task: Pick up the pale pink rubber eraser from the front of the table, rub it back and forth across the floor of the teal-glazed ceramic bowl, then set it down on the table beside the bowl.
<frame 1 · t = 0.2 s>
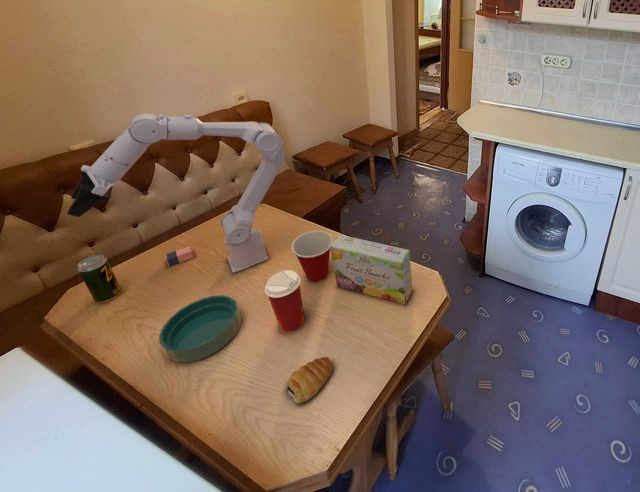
hand: (75, 206, 81), 31 cm above the table, tool tilted 45°, fingers open, 7 cm apart
pastry: (308, 383, 76), on the table
bowl: (205, 333, 86), on the table
beer can: (109, 296, 96), on the table
eraser: (180, 259, 109), on the table
snack box: (374, 290, 100), on the table
paper cup: (292, 322, 90), on the table
plastic cup: (318, 275, 105), on the table
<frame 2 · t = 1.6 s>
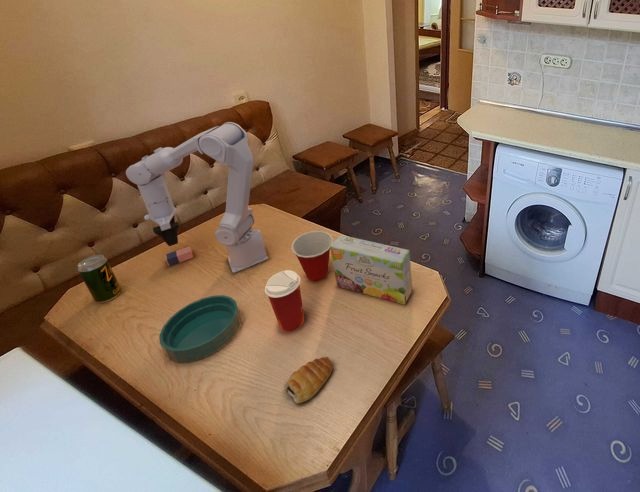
hand: (172, 237, 106), 8 cm above the table, tool pointing down, fingers open, 7 cm apart
nothing on the table moved.
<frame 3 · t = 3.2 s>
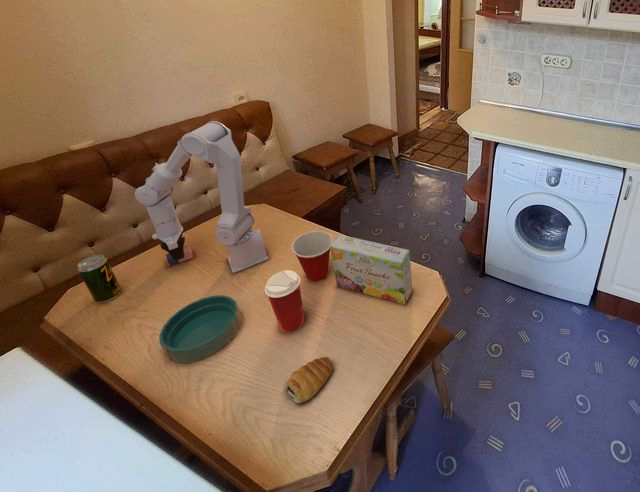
hand: (179, 255, 108), 2 cm above the table, tool pointing down, fingers closed on eraser, 3 cm apart
eraser: (180, 259, 109), on the table, touching gripper
everything else where it was.
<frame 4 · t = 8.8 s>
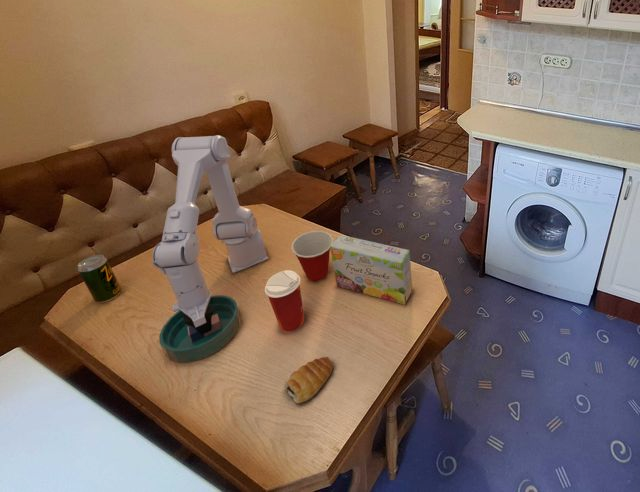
hand: (205, 326, 86), 2 cm above the table, tool pointing down, fingers closed on eraser, 3 cm apart
eraser: (206, 331, 86), point 1 cm above the table, touching gripper
everything else where it was.
when the fingers open (2 cm above the table, at t = 14.5 s): eraser stays where it is, on the table.
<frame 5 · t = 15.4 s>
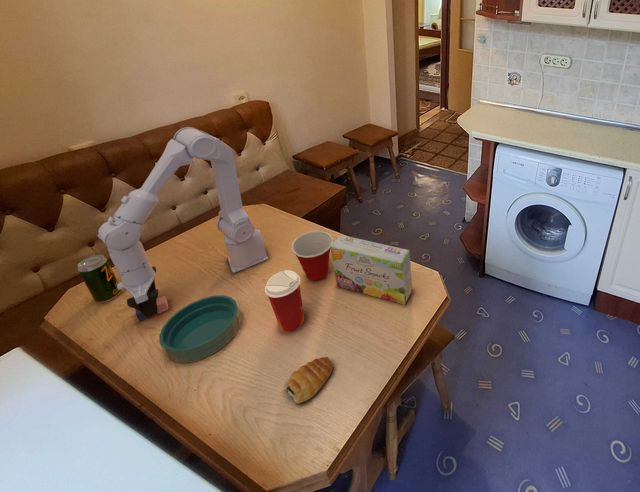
hand: (151, 305, 91), 2 cm above the table, tool pointing down, fingers open, 7 cm apart
eraser: (153, 312, 92), on the table
everything else where it was.
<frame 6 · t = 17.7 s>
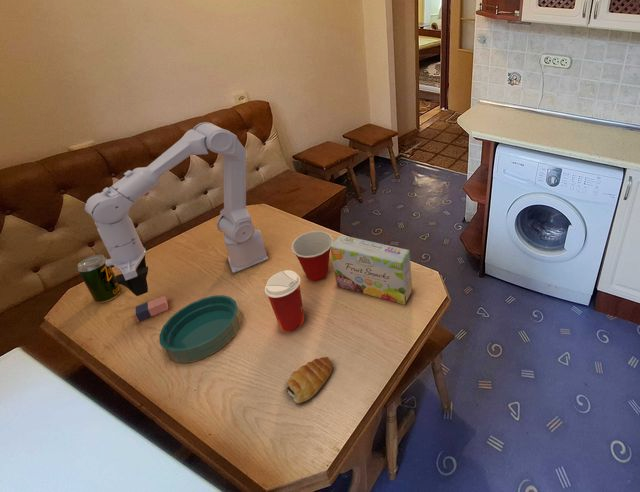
hand: (141, 284, 88), 9 cm above the table, tool pointing down, fingers open, 7 cm apart
nothing on the table moved.
at the end: eraser 0.2 cm from the target spot on the table beside the bowl, on the table; the gripper is holding nothing; eraser tilted 0° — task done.
